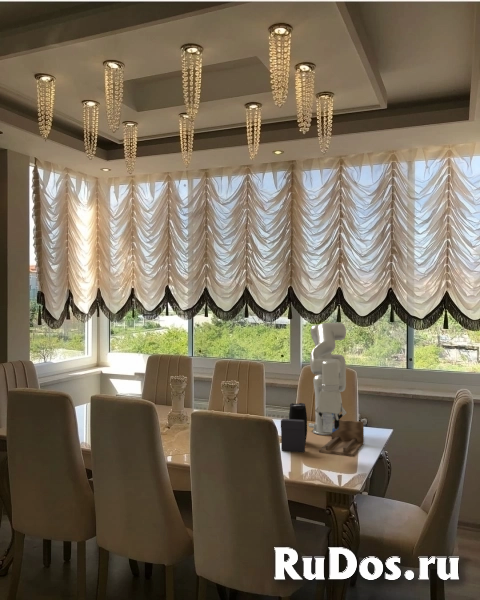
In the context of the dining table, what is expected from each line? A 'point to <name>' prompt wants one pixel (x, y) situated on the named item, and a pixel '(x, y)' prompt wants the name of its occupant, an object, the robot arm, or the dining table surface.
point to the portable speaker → (299, 414)
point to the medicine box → (329, 422)
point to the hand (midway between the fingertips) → (330, 427)
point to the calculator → (293, 435)
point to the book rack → (345, 439)
